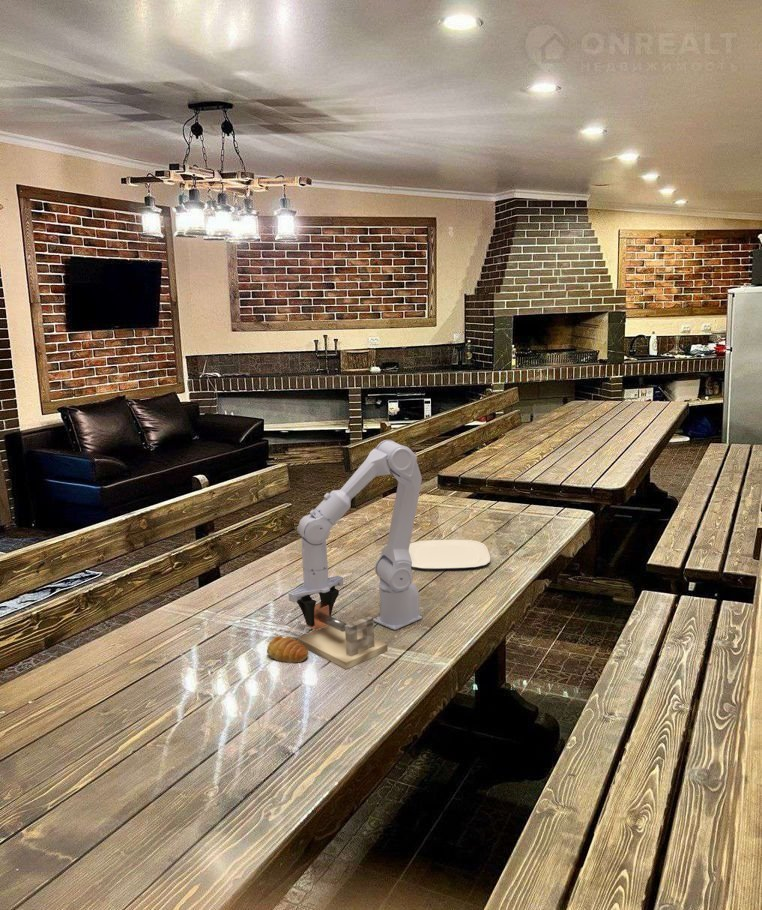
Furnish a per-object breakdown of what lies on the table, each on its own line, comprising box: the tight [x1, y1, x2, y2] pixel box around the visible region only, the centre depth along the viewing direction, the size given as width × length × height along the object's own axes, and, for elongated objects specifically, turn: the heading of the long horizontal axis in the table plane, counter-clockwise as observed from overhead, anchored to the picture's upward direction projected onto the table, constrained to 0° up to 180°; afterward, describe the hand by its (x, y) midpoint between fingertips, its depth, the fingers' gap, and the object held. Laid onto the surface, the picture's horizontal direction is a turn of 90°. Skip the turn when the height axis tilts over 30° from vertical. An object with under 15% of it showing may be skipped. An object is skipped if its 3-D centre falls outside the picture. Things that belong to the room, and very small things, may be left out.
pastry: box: [266, 635, 309, 664], centre depth 170 cm, size 9×7×4 cm
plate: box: [409, 539, 491, 570], centre depth 230 cm, size 25×25×2 cm
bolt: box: [308, 602, 348, 632], centre depth 175 cm, size 4×10×5 cm, turn 43°
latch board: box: [296, 615, 388, 670], centre depth 172 cm, size 12×18×8 cm
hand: (318, 622), depth 178 cm, fingers closed on bolt, 4 cm apart
